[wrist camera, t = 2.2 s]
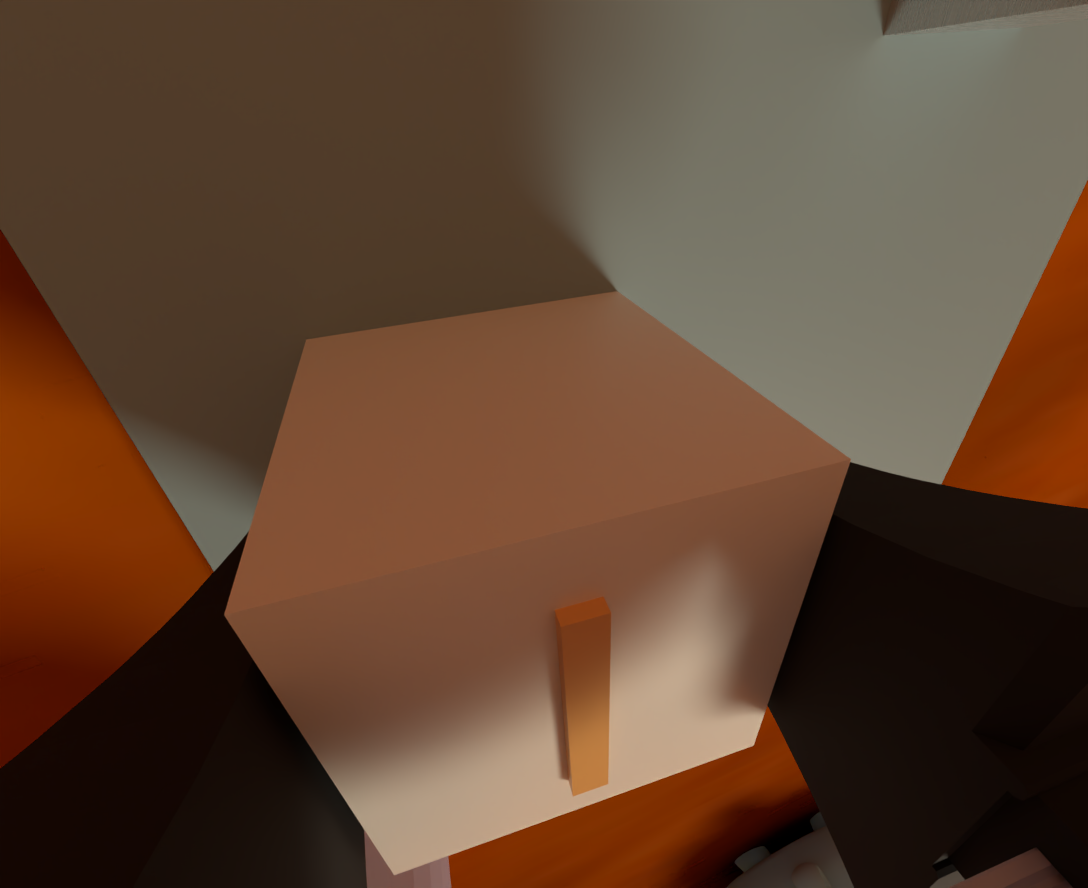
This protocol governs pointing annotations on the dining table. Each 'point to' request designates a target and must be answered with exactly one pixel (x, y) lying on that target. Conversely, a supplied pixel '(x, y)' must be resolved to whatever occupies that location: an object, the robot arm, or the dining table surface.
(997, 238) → the base plate
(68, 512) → the dining table surface
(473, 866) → the dining table surface
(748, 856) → the decorative pot
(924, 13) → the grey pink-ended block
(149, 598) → the dining table surface
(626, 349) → the cabinet with handle
